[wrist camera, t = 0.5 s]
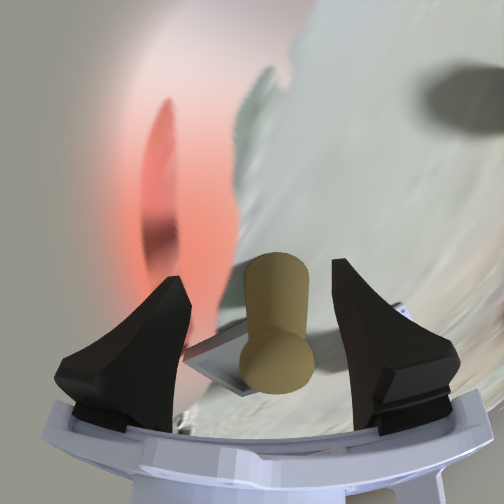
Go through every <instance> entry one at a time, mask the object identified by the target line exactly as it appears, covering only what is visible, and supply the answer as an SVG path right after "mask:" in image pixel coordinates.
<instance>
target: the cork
mask: <svg viewBox="0 0 504 504" xmlns="http://www.w3.org/2000/svg"><path fill="white" fill-rule="evenodd" d="M244 287H245V301H246V314H247V328H248V342H247V343H246V344H245V346H244V347H243V349H242V351H241V353H240V359H239V371H240V375H241V376H242V378H243V380H244V381H245V383H246V385H248V386H249V387H250V388H252V389H254V390H257V391H259V392H262V393H267V394H286V393H290V392H294V391H296V390H298V389H300V388H302V387H304V386H305V385H306V384H307V383H308V382H309V380H310V378H311V376H312V374H313V372H314V367H315V363H314V355H313V351H312V349H311V347H310V345H309V344H308V343H307V341H306V340H305V338H306V325H307V310H308V292H309V274H308V269H307V268H306V266H305V265H304V263H303V262H302V261H300V260H299V259H298V258H297V257H295V256H292V255H290V254H287V253H278V252H274V253H268V254H264V255H262V256H259V257H257V258H255V259H254V260H253V261H252V262H251V263H250V264H249V265H248V267H247V269H246V271H245V273H244Z"/></svg>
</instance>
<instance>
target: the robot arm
mask: <svg viewBox="0 0 504 504" xmlns="http://www.w3.org/2000/svg"><path fill="white" fill-rule="evenodd" d="M332 298H333V304H334V310H335V315H336V318H337V322H338V325H339V329H340V333H341V336H342V340H343V344H344V347H345V351H346V356H347V361H348V369H349V376H350V385H351V395H352V407H353V425H354V431H352V432H346V433H339V434H331V435H323V436H314V437H303V438H287V439H224V438H209V437H197V436H188V435H180V434H172V415H173V397H174V388H175V380H176V373H177V367H178V363H179V359H180V355H181V352H182V348H183V345H184V341H185V338H186V334H187V331H188V327H189V323H190V317H191V309H192V305H191V303H190V300H189V298H188V296H187V293H186V291H185V288H184V286H183V284H182V281H181V279H180V276H170V277H167V278H166V279H165V280H164V281H163V282H162V283H161V284H160V285H159V286H158V287H157V288H156V289H155V290H154V291H153V292H152V293H151V294H150V295H149V296H148V298H147V299H146V300H145V301H144V302H143V303H142V304H141V305H140V306H139V307H138V308H137V309H136V310H134V312H132V314H130V315H129V317H127V318H126V319H125V320H124V321H123V322H121V323H120V324H119V325H118V326H117V327H115V328H114V329H113V330H112V331H110V332H109V333H107V334H106V335H104V336H103V337H102V338H100V339H99V340H97V341H96V342H94V343H93V344H91V345H89V346H87V347H86V348H84V349H82V350H80V351H78V352H76V353H74V354H72V355H70V356H68V357H66V358H63V360H62V362H61V364H60V366H59V368H58V370H57V372H56V374H55V376H54V380H55V382H56V384H57V385H58V386H59V387H60V388H61V389H62V390H63V391H64V392H65V393H66V394H67V395H68V396H70V397H71V398H72V399H73V400H74V401H75V402H76V404H75V406H72V405H70V404H68V403H65V402H62V401H59V400H55V401H54V404H53V406H52V409H51V411H50V414H49V416H48V418H47V421H46V424H45V426H44V429H43V431H42V434H41V438H42V439H43V440H45V441H46V442H48V443H50V444H51V445H53V446H55V447H57V448H58V449H60V450H61V451H63V452H65V453H67V454H68V455H70V456H72V457H74V458H76V459H79V460H81V461H83V462H85V463H88V464H90V465H93V466H95V467H97V468H100V469H102V470H105V471H107V472H110V473H113V474H115V475H118V476H121V477H124V478H127V479H130V480H133V485H132V489H131V494H130V499H129V504H345V496H347V495H352V494H357V493H362V492H367V491H371V490H375V489H380V488H383V487H387V488H390V489H392V490H394V491H395V493H396V498H397V504H446V501H445V494H444V488H443V482H442V477H441V472H442V471H443V470H444V468H445V467H446V466H448V465H450V464H452V463H455V462H457V461H459V460H462V459H464V458H466V457H467V456H469V455H470V454H472V453H474V452H476V451H477V450H479V449H480V448H482V447H484V446H485V445H487V444H488V443H490V442H491V441H492V440H493V439H494V436H493V433H492V429H491V425H490V422H489V418H488V415H487V412H486V409H485V406H484V403H483V400H482V397H481V394H480V391H479V389H475V390H473V391H470V392H468V393H465V394H463V395H460V396H458V397H456V398H454V399H452V400H451V398H450V395H449V394H450V393H451V390H450V387H449V383H450V381H451V380H452V379H453V377H454V376H455V374H456V373H457V371H458V369H459V367H460V363H461V361H460V359H459V357H458V354H457V352H456V350H455V348H454V346H453V344H452V342H451V341H450V340H448V339H445V338H443V337H441V336H439V335H436V334H434V333H432V332H430V331H428V330H427V329H425V328H423V327H421V326H419V325H418V324H416V323H414V322H413V320H412V318H411V316H410V314H409V312H408V310H407V308H406V306H405V304H403V303H401V304H399V305H397V306H395V307H392V306H391V305H389V304H388V303H387V302H386V301H385V300H384V299H383V298H381V297H380V296H379V295H378V294H377V293H376V292H375V291H374V290H373V289H372V288H371V287H370V286H369V285H368V284H367V283H366V282H365V280H364V279H363V278H362V277H361V276H360V275H359V274H358V273H357V271H356V270H355V269H354V268H353V267H352V266H351V264H350V263H349V262H348V261H347V260H346V259H345V258H342V259H334V260H332Z"/></svg>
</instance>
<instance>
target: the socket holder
mask: <svg viewBox="0 0 504 504" xmlns="http://www.w3.org/2000/svg"><path fill="white" fill-rule="evenodd" d="M247 342H248V328H247V320H245V321H243V322H241V323H239V324H237V325H235V326H233V327H231V328H229V329H227V330H225V331H223V332H221V333H219V334H217V335H215V336H213V337H211V338H209V339H207V340H204V341H203V342H200V343H198V344H196V345H194V346H192V347H190V348H188V349H186V351H185V354H184V358H183V363H185V364H187V365H188V366H190V367H191V368H193V369H195V370H196V371H198V372H199V373H201V374H203V375H204V376H206V377H208V378H209V379H211V380H213V381H214V382H216V383H218V384H220V385H221V386H223V387H225V388H227V389H228V390H230V391H232V392H234V393H236V394H237V395H239V396H241V397H244V396H247V395H250V394H254V393H257V392H259V391H257V390H254V389H252V388H250V387H249V386H248V385H246V383H245V381H244V380H243V378H242V376H241V375H240V371H239V359H240V353H241V351H242V349H243V347H244V346H245V344H246V343H247Z"/></svg>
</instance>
